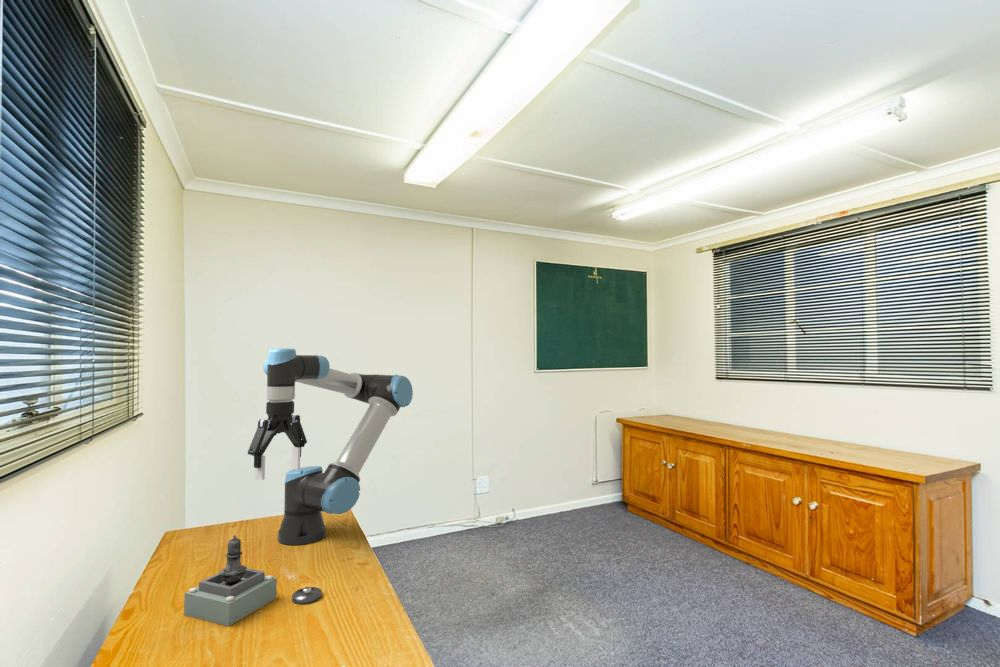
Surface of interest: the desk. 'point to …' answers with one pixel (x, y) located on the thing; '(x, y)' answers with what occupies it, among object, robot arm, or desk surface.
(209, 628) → the desk surface
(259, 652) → the desk surface
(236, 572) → the dark metal chess piece
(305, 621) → the desk surface
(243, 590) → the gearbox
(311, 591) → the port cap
